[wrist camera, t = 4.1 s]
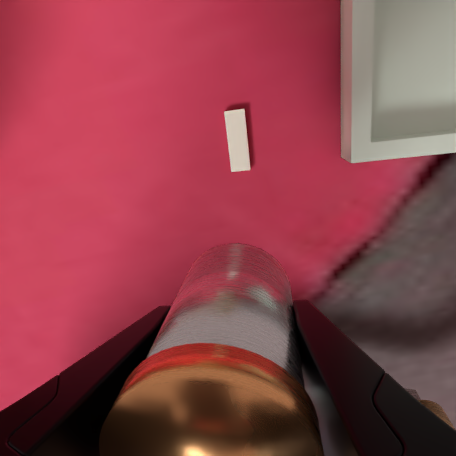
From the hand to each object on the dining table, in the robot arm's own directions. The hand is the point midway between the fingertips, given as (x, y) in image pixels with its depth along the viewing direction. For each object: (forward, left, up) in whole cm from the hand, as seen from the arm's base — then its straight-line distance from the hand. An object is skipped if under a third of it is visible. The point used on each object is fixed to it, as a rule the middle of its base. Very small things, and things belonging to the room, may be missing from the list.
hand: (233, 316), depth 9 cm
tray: (+7, -9, -9) cm, 14 cm away
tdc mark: (+4, 0, -9) cm, 10 cm away
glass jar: (0, 0, -1) cm, 1 cm away
